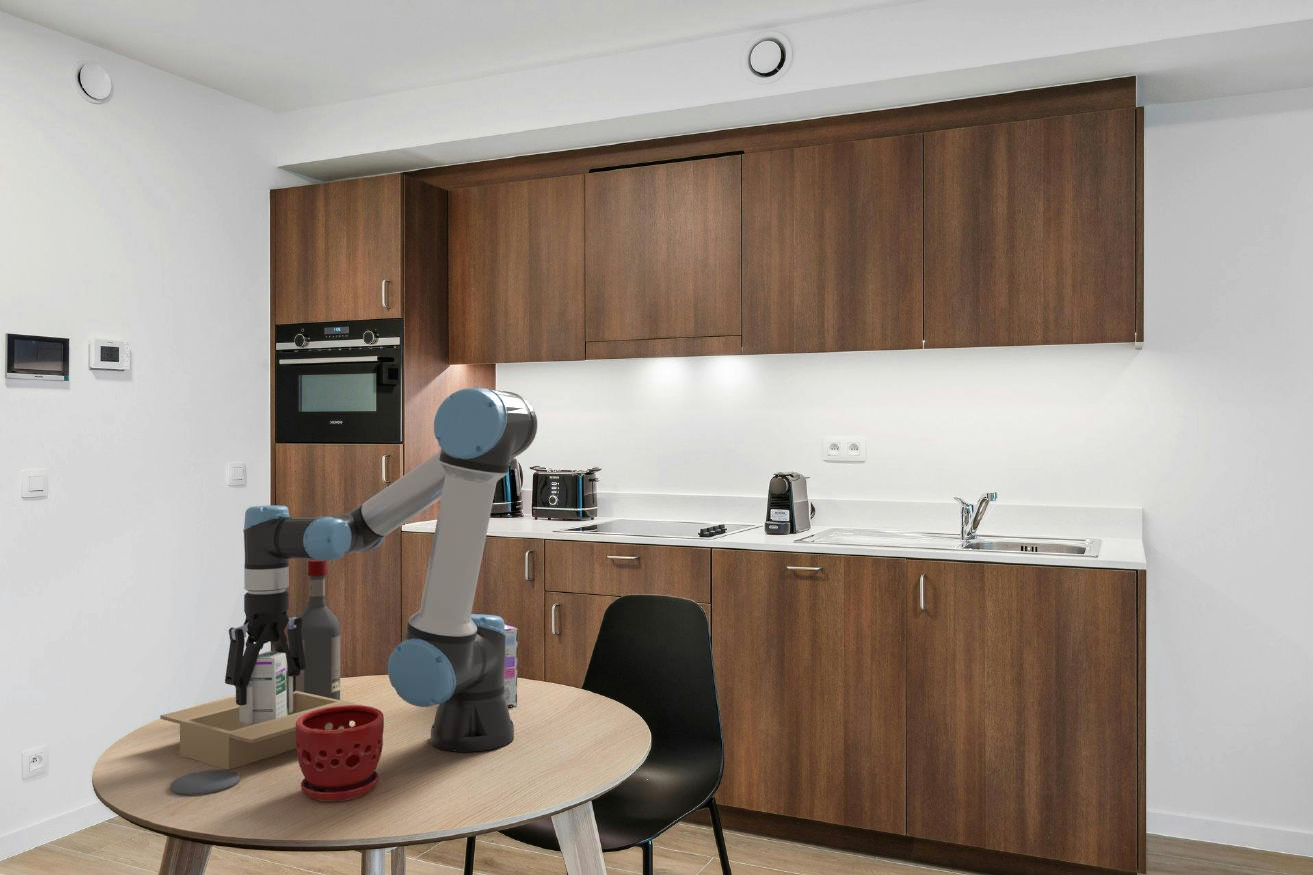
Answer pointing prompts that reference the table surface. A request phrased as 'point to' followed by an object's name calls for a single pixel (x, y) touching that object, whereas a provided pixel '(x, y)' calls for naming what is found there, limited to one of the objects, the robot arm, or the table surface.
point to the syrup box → (269, 687)
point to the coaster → (205, 782)
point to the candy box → (511, 665)
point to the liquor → (319, 640)
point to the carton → (241, 731)
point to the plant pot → (339, 751)
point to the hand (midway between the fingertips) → (266, 716)
